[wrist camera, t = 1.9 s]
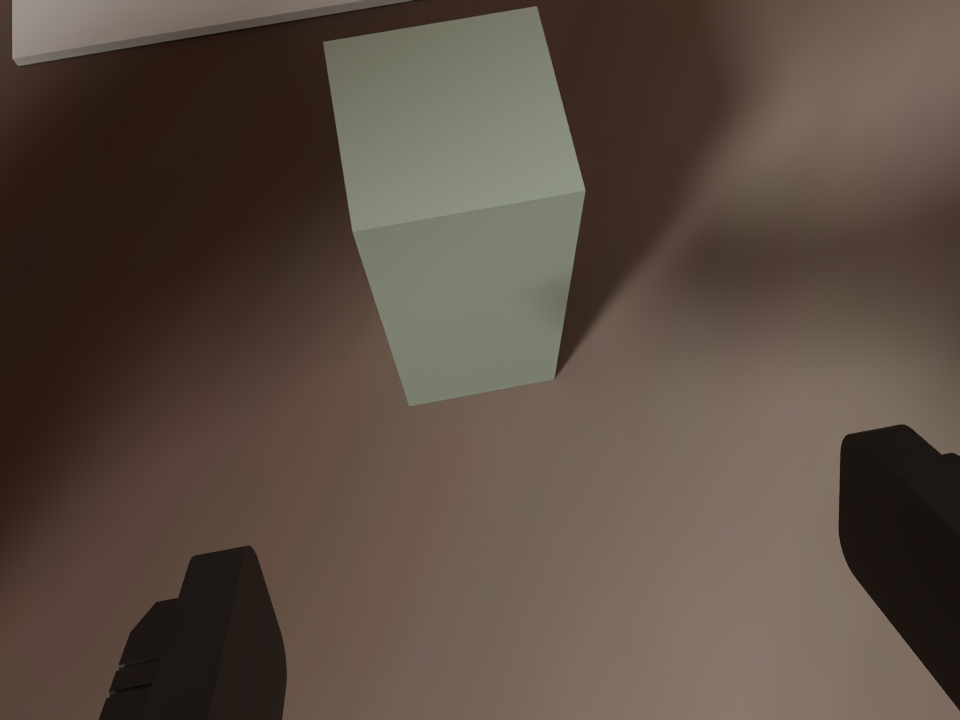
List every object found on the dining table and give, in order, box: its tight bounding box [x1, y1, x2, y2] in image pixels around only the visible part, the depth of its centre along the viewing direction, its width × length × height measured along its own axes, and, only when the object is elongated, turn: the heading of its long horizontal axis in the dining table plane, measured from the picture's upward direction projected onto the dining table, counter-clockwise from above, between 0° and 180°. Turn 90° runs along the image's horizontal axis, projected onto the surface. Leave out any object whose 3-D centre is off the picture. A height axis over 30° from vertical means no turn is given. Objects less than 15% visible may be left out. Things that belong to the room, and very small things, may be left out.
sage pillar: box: [323, 6, 585, 406], centre depth 23 cm, size 4×4×11 cm
